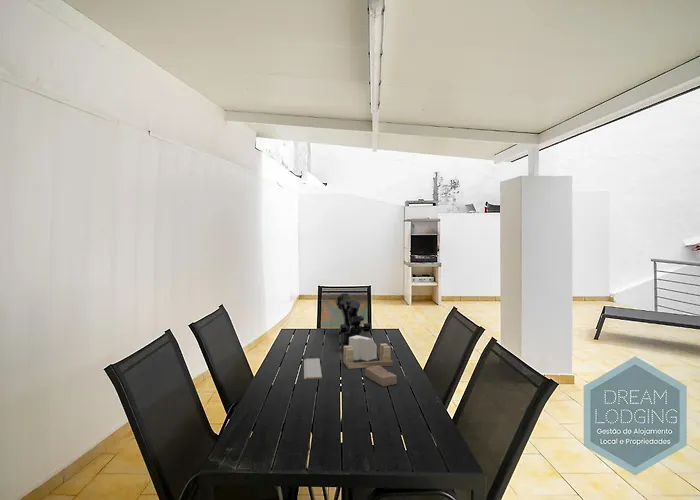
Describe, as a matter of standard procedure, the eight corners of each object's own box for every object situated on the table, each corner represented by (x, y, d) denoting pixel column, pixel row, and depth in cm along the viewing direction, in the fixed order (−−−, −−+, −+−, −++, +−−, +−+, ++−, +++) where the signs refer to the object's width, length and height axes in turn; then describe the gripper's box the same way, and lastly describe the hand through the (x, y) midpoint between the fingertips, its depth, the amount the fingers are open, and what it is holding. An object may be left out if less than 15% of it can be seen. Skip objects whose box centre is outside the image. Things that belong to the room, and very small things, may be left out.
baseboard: (301, 380, 206) (322, 380, 207) (301, 374, 206) (322, 374, 207) (301, 361, 236) (319, 360, 237) (301, 356, 236) (319, 355, 237)
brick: (397, 384, 200) (397, 374, 200) (382, 387, 196) (382, 377, 196) (378, 374, 215) (378, 364, 215) (364, 376, 211) (364, 367, 211)
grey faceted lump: (348, 358, 240) (349, 337, 239) (362, 354, 248) (362, 333, 247) (363, 362, 232) (363, 340, 232) (376, 358, 241) (376, 336, 240)
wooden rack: (343, 362, 233) (343, 345, 232) (385, 359, 238) (386, 343, 238) (348, 368, 221) (348, 351, 221) (392, 365, 227) (392, 349, 226)
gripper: (340, 311, 254) (344, 333, 243) (370, 309, 258) (375, 332, 248) (337, 321, 262) (341, 344, 251) (367, 320, 266) (371, 342, 256)
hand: (357, 340), depth 251 cm, fingers closed
